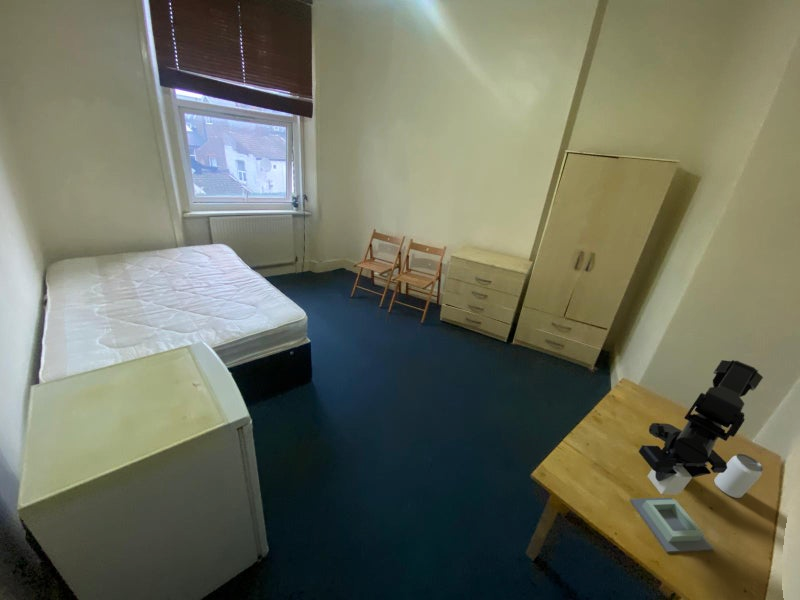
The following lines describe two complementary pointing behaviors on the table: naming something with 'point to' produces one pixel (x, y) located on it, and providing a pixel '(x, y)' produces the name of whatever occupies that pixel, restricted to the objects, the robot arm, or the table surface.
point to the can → (739, 475)
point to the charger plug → (671, 481)
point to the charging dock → (671, 525)
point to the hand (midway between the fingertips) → (666, 479)
